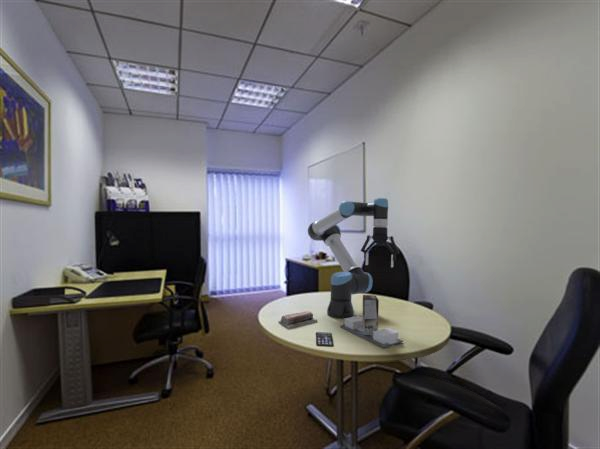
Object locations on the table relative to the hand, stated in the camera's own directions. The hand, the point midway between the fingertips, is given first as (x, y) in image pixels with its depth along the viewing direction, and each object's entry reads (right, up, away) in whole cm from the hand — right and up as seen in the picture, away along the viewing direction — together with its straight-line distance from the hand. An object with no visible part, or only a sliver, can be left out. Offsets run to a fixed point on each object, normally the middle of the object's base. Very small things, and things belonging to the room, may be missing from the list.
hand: (379, 266), depth 159 cm
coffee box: (-11, -28, -23) cm, 37 cm away
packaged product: (-44, -28, -8) cm, 53 cm away
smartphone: (-32, -29, -29) cm, 52 cm away
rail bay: (-11, -29, -23) cm, 38 cm away
